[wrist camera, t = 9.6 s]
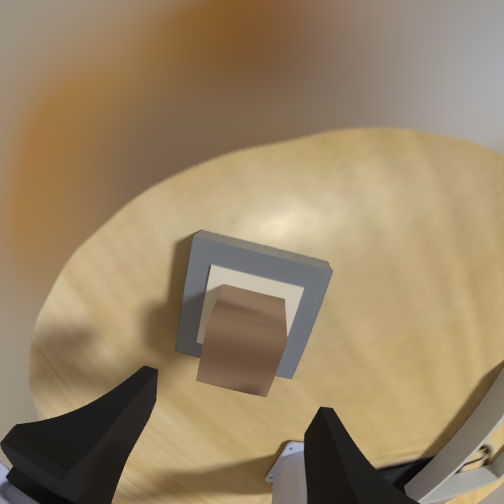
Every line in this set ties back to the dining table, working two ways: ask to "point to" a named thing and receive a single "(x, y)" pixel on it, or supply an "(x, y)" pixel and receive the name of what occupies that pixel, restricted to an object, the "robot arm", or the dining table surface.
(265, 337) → the walnut block
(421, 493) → the grey corral
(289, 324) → the plate
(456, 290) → the dining table surface
